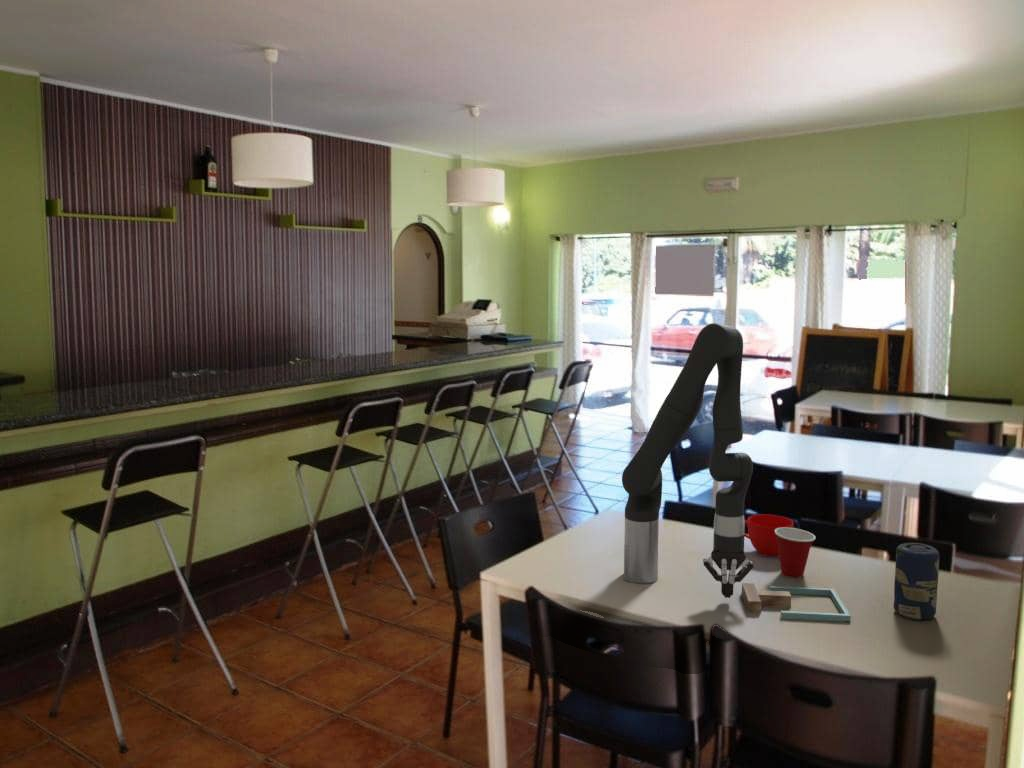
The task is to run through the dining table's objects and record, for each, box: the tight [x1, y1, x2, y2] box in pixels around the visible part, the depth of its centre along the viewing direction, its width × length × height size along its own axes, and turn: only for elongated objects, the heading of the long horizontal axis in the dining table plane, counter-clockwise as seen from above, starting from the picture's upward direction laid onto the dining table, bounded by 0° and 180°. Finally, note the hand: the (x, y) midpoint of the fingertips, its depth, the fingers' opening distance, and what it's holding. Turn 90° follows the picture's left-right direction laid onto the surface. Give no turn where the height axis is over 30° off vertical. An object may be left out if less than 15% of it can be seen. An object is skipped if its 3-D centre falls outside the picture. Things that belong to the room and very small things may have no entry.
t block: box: [741, 582, 792, 614], centre depth 208 cm, size 11×12×3 cm
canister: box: [893, 542, 940, 620], centre depth 200 cm, size 10×10×18 cm
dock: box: [769, 585, 852, 622], centre depth 207 cm, size 16×17×2 cm
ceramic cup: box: [744, 513, 794, 558], centre depth 246 cm, size 13×17×10 cm
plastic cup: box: [775, 527, 816, 579], centre depth 228 cm, size 11×11×12 cm
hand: (727, 596), depth 209 cm, fingers closed
